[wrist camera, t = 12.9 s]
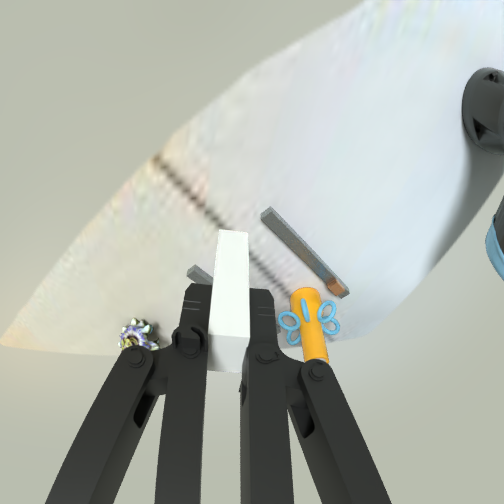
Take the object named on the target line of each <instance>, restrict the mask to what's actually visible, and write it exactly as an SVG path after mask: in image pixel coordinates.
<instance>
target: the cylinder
mask: <svg viewBox="0 0 504 504" xmlns="http://www.w3.org/2000/svg"><path fill="white" fill-rule="evenodd" d="M290 304H291V311H292V312H290V311H284V312H282V313H280V314H279V316H278V323H279V324H280V326H281V327H282V328H284V329H286V330H288V333H287V342H288V343H289V344H290V345H296V344H297V343H299V342H300V340H301V342H302V348H303V355H304V361H305V362H306V361H308V360H310V359H320V360H323V361H325V362H326V363H327V364H328V363H329V359H328V353H327V349H326V344H325V339H324V334H323V332H325V333H326V334H329V335H335V334H337V333H338V332H339V330H340V325H339V323H338V321H337V320H336V319H334V318H333V317H334V315H335V313H336V305H335V303H334V302H333V301H326V302H324V303H323V304H322V301H321V297H320V294H319V292H318V291H317V290H316V289H314V288H310V287H305V288H301V289H298V290H296V291H295V292H294V293H293V294H292V295H291V297H290ZM327 305H331V306H332V311H331V314H330V315H329V316H324V317H322V315H323V309H324V308H325V307H326V306H327ZM286 315H288V316H291V317H293V319H294V320H295V321H296V324H295V325H293V326H287V325H286V324H284V322H283V321H282V318H283V316H286ZM329 321H331V322H333V323H334V324H335V326H336V329H335V330H334V331H331V330H328V329H326V328H325V327H324V325H323V323H327V322H329ZM298 328H299V330H300V333H299V336H298V338H297V339H296V340H295V341H291V334H292V332H293V331H295V330H297V329H298Z"/></svg>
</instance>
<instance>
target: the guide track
mask: <svg viewBox="0 0 504 504" xmlns="http://www.w3.org/2000/svg"><path fill="white" fill-rule="evenodd" d="M261 220H262V221H263V222H264V223H265V224H267V225H268V226H269V227H270V228H271V229H272V230H273V231H274V232H275V233H276V234H277V235H278V236H279V237H280V238H281V239H282V240H283V241H284V242H285V243H286V244H287V245H288V246H289V247H290V248H291V249H292V250H293V251H294V252H295V253H296V254H297V255H298V256H299V257H300V258H301V259H302V260H303V261H304V262H305V263H306V264H307V265H308V266H309V267H310V268H311V269H312V270H313V271H314V272H315V273H316V274H317V275H318V276H319V277H320V278H321V279H322V280H323V281H324V282H325V283H326V284H327V286H328V288H329V289H330V290H331V291H332V292H333V293H334V294H335V296H337V295H338V296H339V297H340V298H341V299H342V298H343V297H345V296H347V295H348V294H350V293H349V290H348V288H347V286H346V285H345V284H344V283H343V282H342V281H341V280H340V279H339V278H338V277H337V276H336V274H335V273H334V272H333V271H332V270H331V269H330V268H329V267H328V266H327V265H326V264H325V263H324V261H323V260H322V259H321V258H320V257H319V256H318V255H317V254H316V253H315V252H314V251H313V250H312V249H311V248H310V247H309V246H308V244H307V243H306V242H305V241H304V240H303V239H302V238H301V237H300V236H299V235H298V234H297V233H296V232H295V231H294V230H293V229H292V228H291V227H290V226H289V225H288V224H287V223H286V222H285V221H284V220H283V218H282V217H281V216H280V215H279V214H278V213H277V212H276V211H275V210H274V209H273V208H272V207H269V208H268V209H267V210H265V211H264V212H263V213H261ZM187 277H189V278H190V279H191V280H193V281H194V282H196V283H197V284H206V285H213V280H214V278H212V277H211V276H210V275H208V274H207V273H206V272H204V271H203V270H202V269H200V268H199V267H198V266H196V265H194V266H193V267H191V268H190V269H189V270H188V272H187ZM276 329H277V334H278V333H280V332H281V330H280V326H278V325H277V324H276Z"/></svg>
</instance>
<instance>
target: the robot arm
mask: <svg viewBox="0 0 504 504" xmlns="http://www.w3.org/2000/svg"><path fill="white" fill-rule="evenodd" d="M462 112H463V120H464V124H465V127H466V130H467V132H468V134H469V136H470V138H471V139H472V140H473V142H474V143H475V144H476V145H478V146H479V147H481V148H482V149H484V150H486V151H487V152H490V153H493V154H499V155H504V72H503V71H501V70H497V69H494V68H482V69H480V70H478V71H477V72H475V73H474V74H473V75H472V77H471V78H470V79H469V81H468V83H467V85H466V88H465V91H464V96H463V104H462ZM485 243H486V251H487V254H488V257H489V259H490V261H491V263H492V265H493V267H494V268H495V270H496V271H497V273H498V274H499V275H500V277H501V278H502V279H503V280H504V196H503V199H502V201H501V203H500V205H499V208H498V210H497V212H496V214H495V215H494V216H493V219H492V224H491V226H490V228H489V231H488V233H487V236H486V240H485ZM207 370H211V371H222V372H235V373H241V371H242V381H241V385H240V388H239V392H240V393H241V394H240V405H241V406H240V447H241V449H240V456H241V457H240V463H241V464H240V465H241V466H240V467H241V468H240V471H241V472H240V473H241V504H294V495H293V480H292V465H291V451H290V439H289V426H288V413H287V409H288V412H289V415H290V417H291V420H292V423H293V426H294V429H295V431H296V434H297V437H298V440H299V443H300V445H301V448H302V450H303V453H304V456H305V459H306V462H307V464H308V467H309V470H310V472H311V475H312V478H313V480H314V483H315V486H316V488H317V491H318V494H319V496H320V499H321V502H322V504H392V503H391V501H390V499H389V496H388V494H387V491H386V489H385V487H384V485H383V482H382V480H381V477H380V475H379V473H378V470H377V468H376V466H375V464H374V461H373V459H372V457H371V454H370V452H369V450H368V447H367V445H366V443H365V441H364V439H363V436H362V434H361V432H360V429H359V427H358V425H357V423H356V420H355V419H354V416H353V414H352V412H351V409H350V407H349V405H348V403H347V401H346V398H345V396H344V394H343V392H342V390H341V388H340V385H339V383H338V381H337V379H336V377H335V374H334V372H333V370H332V368H331V367H330V366H329V364H327V363H326V362H325V361H323V360H320V359H310V360H308V361H306V362H305V363H304V362H301V361H298V360H294V359H292V358H289V357H288V356H286V355H285V354H284V353H283V352H282V351H281V350H280V348H279V346H278V340H277V329H276V319H275V309H274V298H273V297H272V295H271V293H270V292H269V290H266V289H255V288H249V253H248V232H239V231H230V230H221V229H219V237H218V245H217V254H216V262H215V271H214V280H213V285H206V284H197V283H191V284H190V286H189V287H188V288H187V289H186V291H185V296H184V302H183V306H182V312H181V317H180V323H179V327H177V328H176V329H175V330H174V332H173V334H172V344H171V345H170V346H168V347H166V348H162V349H157V350H151V351H149V349H147V348H146V347H144V346H140V345H133V346H129V347H127V348H125V349H124V350H123V351H122V353H121V354H120V356H119V357H118V359H117V361H116V363H115V364H114V366H113V368H112V370H111V372H110V373H109V375H108V377H107V379H106V381H105V382H104V384H103V386H102V388H101V390H100V391H99V393H98V395H97V397H96V399H95V401H94V403H93V404H92V406H91V408H90V410H89V412H88V414H87V416H86V418H85V420H84V422H83V424H82V426H81V428H80V429H79V432H78V433H77V435H76V438H75V440H74V441H73V444H72V446H71V448H70V450H69V452H68V454H67V456H66V458H65V460H64V462H63V464H62V467H61V469H60V471H59V473H58V475H57V477H56V480H55V482H54V484H53V486H52V489H51V491H50V493H49V496H48V498H47V500H46V503H45V504H113V503H114V500H115V498H116V495H117V493H118V490H119V488H120V486H121V483H122V481H123V478H124V476H125V473H126V471H127V469H128V466H129V464H130V461H131V459H132V457H133V455H134V452H135V450H136V447H137V445H138V443H139V440H140V438H141V436H142V433H143V431H144V429H145V427H146V424H147V422H148V420H149V417H150V415H151V413H152V411H153V408H154V406H155V404H156V402H157V399H158V397H159V395H164V394H166V397H165V404H164V412H163V420H162V429H161V437H160V445H159V455H158V465H157V478H156V490H155V503H154V504H200V499H201V468H202V445H203V424H204V408H205V392H206V376H207Z"/></svg>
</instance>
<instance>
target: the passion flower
mask: <svg viewBox="0 0 504 504" xmlns="http://www.w3.org/2000/svg"><path fill="white" fill-rule="evenodd" d="M152 331H153V327H152V325H147V326H146V325H145V322H144V321H143V320H141V321H140V323H139V322H138V321H137V319H136V318H133V319H132V321H131V325H130V326H129V327H128V328H127V327H123V333H121V334H122V336H121V341H120V342H119V343H118V346H120V347H121V348H122V351H123V350H124V349H125V348H127V347H129V346H133V345H140V346H144V347H146V348H147V349H149V351H151V350H157V349H160V348H159V347H160V346H159V338H158V340H157V341H154V342H153V341H149V340H148V339H147V337H148V335H149V334H150V333H151V332H152ZM122 351H121V352H122Z"/></svg>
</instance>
